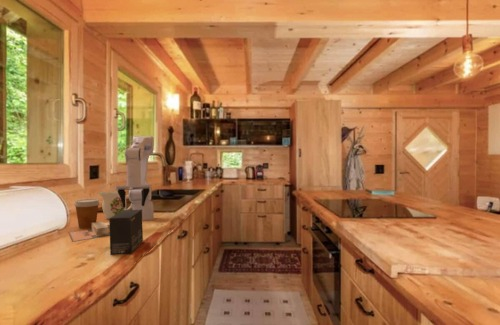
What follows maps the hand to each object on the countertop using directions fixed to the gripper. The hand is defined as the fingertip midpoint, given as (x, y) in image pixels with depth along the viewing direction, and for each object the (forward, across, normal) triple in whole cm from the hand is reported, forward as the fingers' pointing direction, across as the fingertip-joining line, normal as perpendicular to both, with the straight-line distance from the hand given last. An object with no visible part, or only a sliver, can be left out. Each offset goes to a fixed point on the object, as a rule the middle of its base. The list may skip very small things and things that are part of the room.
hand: (133, 206), depth 116 cm
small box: (+12, -7, -24) cm, 28 cm away
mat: (+10, -12, 0) cm, 16 cm away
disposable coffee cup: (+9, -16, +14) cm, 23 cm away
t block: (+9, -9, 0) cm, 13 cm away
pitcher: (+8, -3, +28) cm, 29 cm away
